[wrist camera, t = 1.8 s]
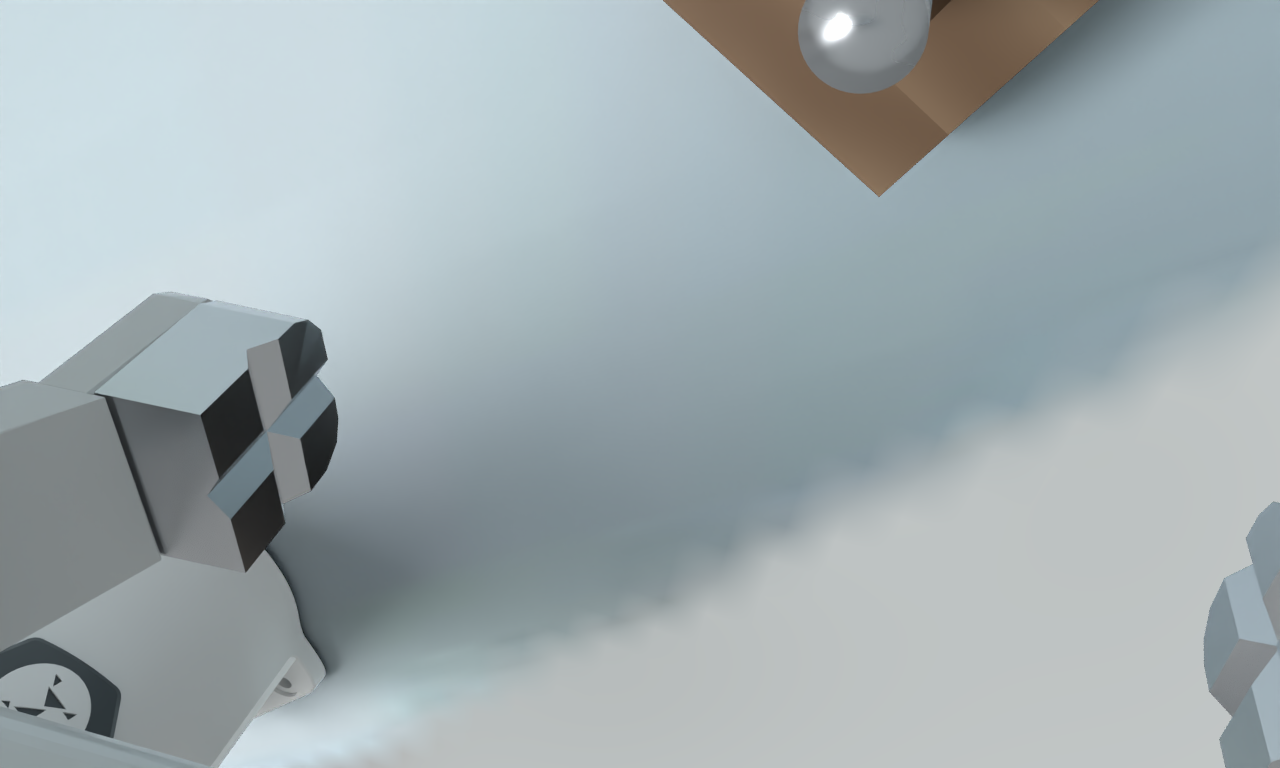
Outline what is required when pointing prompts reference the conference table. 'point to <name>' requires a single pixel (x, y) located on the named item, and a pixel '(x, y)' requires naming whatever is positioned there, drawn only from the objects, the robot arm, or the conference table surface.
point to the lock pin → (863, 41)
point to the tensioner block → (905, 112)
